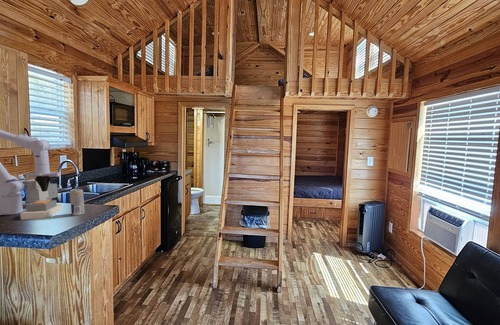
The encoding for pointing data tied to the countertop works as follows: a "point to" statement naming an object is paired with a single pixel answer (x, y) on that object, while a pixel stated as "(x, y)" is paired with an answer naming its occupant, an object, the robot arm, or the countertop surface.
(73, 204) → the energy drink
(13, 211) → the robot arm
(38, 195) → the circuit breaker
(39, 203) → the button
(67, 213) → the countertop surface
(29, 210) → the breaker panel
